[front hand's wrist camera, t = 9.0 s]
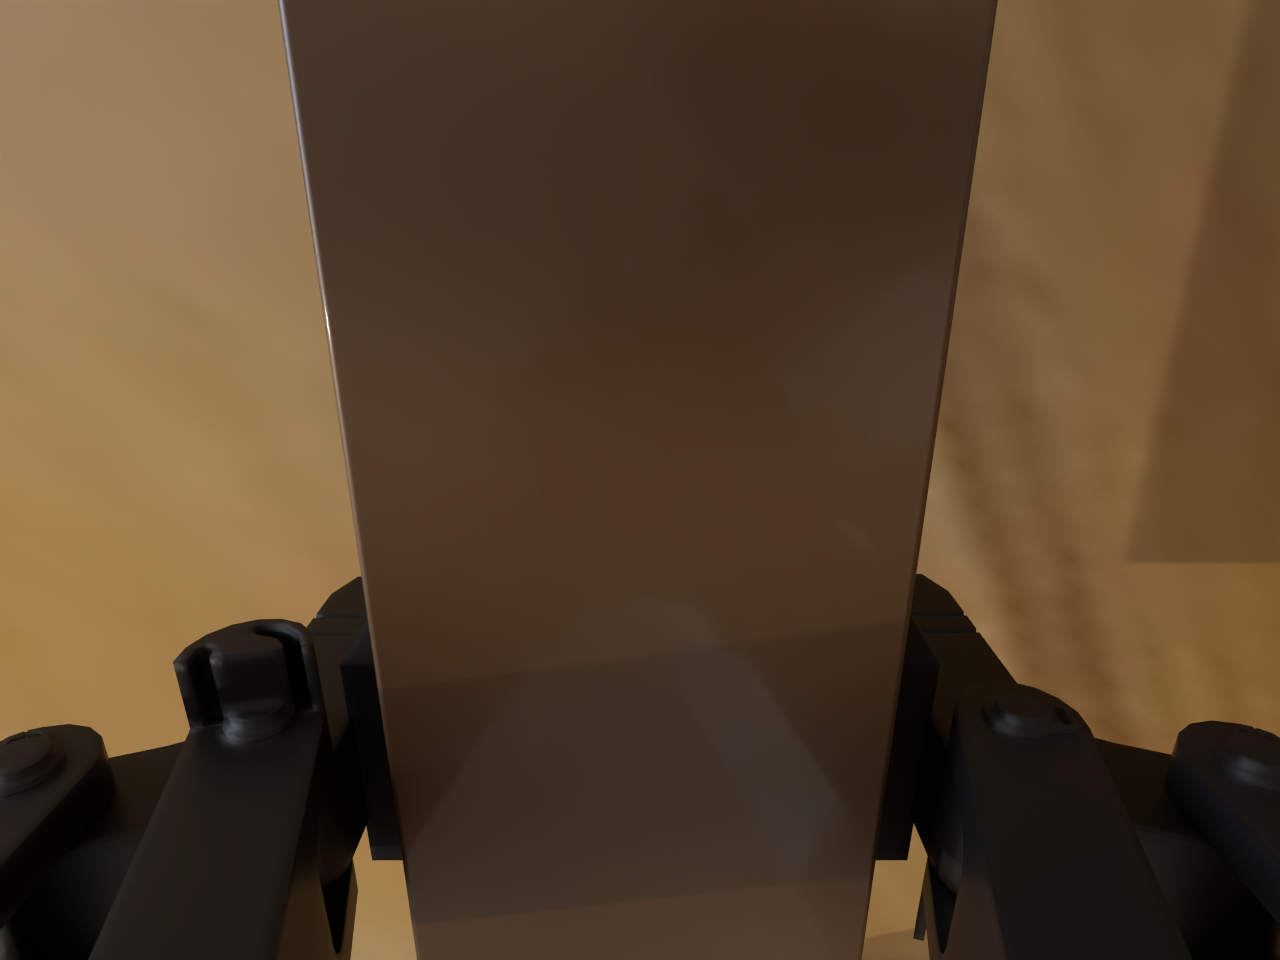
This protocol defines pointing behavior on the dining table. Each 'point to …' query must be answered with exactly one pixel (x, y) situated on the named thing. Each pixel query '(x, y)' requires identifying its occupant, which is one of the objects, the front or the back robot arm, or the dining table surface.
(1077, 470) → the dining table surface
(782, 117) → the bar
